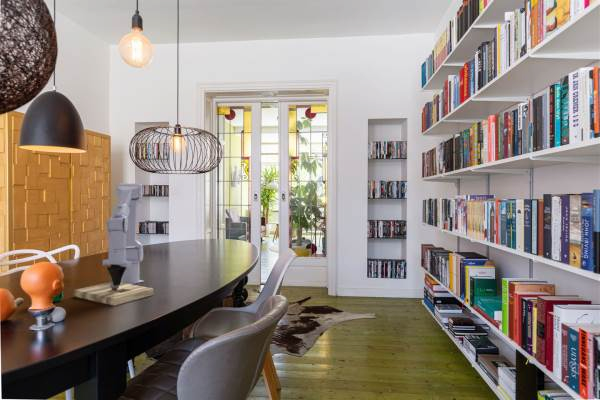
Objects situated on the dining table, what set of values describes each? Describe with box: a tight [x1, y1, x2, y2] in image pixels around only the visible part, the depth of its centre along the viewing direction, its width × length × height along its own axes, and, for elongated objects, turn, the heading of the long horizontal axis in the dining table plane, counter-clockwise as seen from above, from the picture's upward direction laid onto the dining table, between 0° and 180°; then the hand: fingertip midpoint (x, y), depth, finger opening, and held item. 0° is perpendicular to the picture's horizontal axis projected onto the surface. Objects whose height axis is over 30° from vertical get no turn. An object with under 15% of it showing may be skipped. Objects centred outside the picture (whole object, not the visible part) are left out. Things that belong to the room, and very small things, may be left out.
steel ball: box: [110, 281, 120, 290], centre depth 135 cm, size 3×3×3 cm
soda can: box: [53, 266, 64, 303], centre depth 128 cm, size 5×5×12 cm
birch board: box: [74, 281, 154, 306], centre depth 135 cm, size 24×16×2 cm, turn 61°
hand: (116, 285), depth 134 cm, fingers closed, pressing on steel ball
